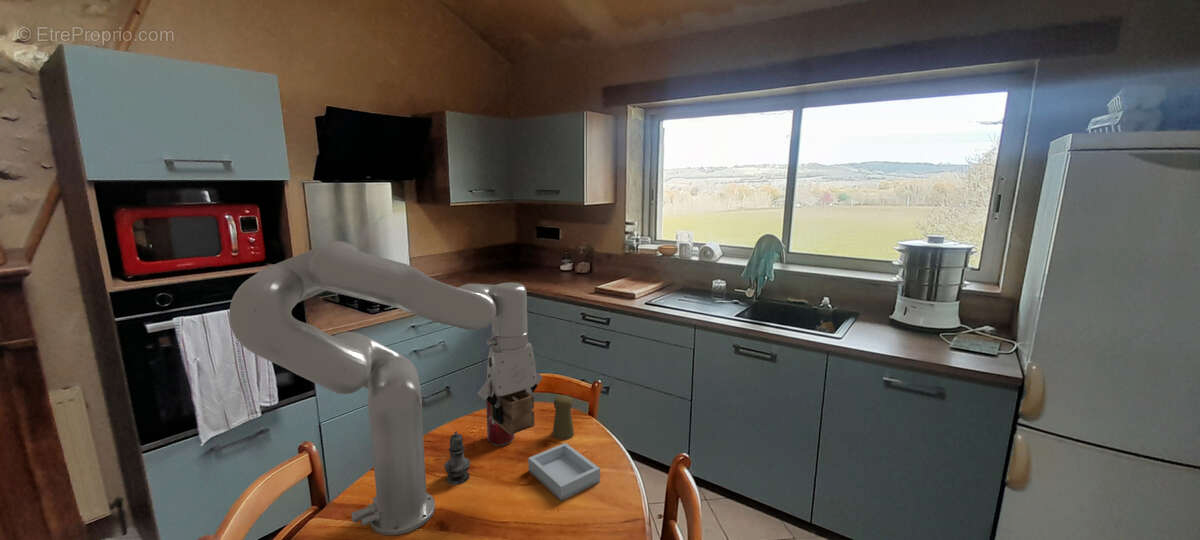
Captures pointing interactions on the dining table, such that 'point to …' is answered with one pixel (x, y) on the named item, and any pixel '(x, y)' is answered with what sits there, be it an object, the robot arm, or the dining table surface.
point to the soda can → (496, 431)
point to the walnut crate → (516, 412)
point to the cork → (563, 418)
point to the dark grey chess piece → (457, 461)
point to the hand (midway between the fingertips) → (512, 416)
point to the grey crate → (564, 471)
